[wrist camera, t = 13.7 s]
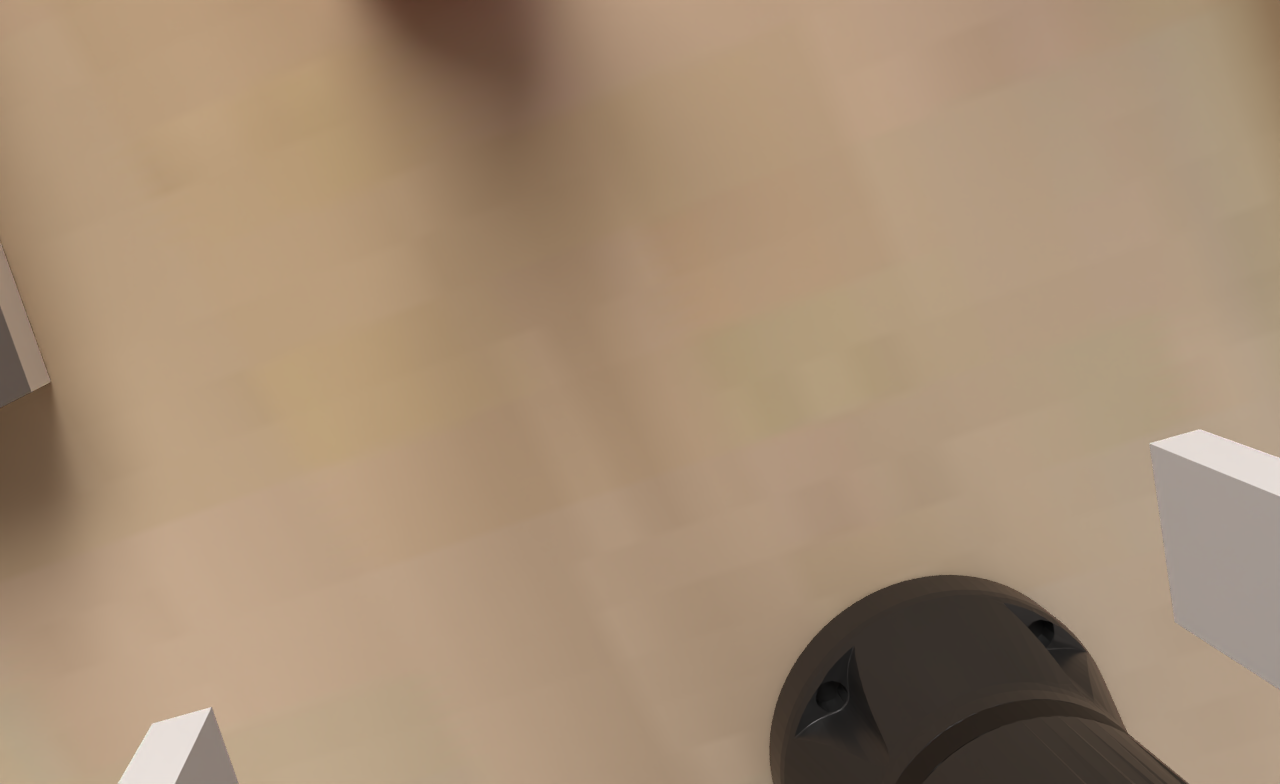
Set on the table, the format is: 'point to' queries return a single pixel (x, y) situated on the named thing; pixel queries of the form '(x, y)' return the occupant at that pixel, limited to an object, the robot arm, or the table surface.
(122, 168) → the table surface
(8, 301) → the hole block
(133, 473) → the table surface
